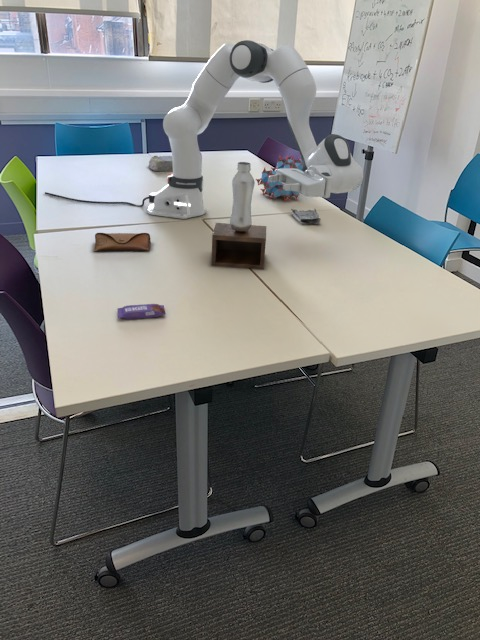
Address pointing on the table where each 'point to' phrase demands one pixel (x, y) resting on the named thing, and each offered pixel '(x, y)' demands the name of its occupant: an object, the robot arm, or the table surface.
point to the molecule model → (277, 186)
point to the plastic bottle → (242, 198)
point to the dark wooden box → (238, 247)
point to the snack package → (141, 311)
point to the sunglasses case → (122, 242)
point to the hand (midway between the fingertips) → (276, 182)
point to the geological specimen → (161, 163)
